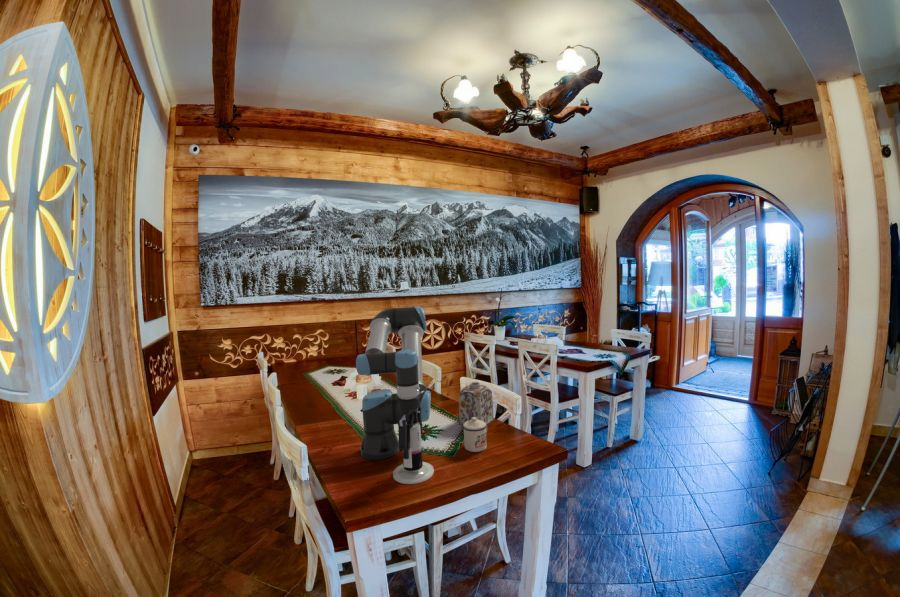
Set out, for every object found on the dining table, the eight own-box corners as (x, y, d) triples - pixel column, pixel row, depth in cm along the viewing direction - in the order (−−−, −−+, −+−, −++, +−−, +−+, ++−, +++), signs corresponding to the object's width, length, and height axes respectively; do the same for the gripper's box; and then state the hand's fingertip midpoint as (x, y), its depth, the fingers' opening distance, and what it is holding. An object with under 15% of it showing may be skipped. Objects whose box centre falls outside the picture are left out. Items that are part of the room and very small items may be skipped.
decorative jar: (473, 415, 179) (471, 378, 178) (494, 420, 172) (492, 381, 171) (458, 424, 169) (456, 385, 168) (481, 429, 162) (478, 388, 161)
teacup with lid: (477, 454, 139) (476, 424, 138) (459, 448, 145) (457, 419, 144) (496, 443, 148) (494, 414, 147) (478, 437, 154) (476, 409, 153)
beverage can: (406, 474, 124) (404, 430, 123) (401, 465, 130) (398, 423, 129) (425, 469, 127) (422, 426, 126) (419, 461, 133) (416, 419, 132)
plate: (385, 480, 124) (385, 478, 124) (404, 460, 137) (404, 459, 137) (423, 486, 119) (423, 484, 119) (439, 465, 133) (439, 463, 133)
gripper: (405, 406, 117) (410, 478, 118) (430, 388, 135) (433, 450, 136) (384, 405, 119) (389, 475, 120) (411, 387, 137) (415, 448, 139)
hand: (412, 461), depth 128 cm, fingers closed on beverage can, 6 cm apart
